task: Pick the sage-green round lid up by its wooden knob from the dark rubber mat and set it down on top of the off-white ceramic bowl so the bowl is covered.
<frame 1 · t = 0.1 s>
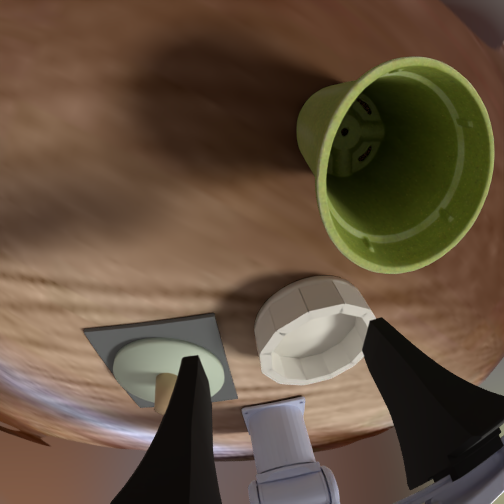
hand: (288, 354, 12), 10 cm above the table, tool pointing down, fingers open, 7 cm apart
plant pot: (338, 131, 17), on the table
bowl: (309, 320, 25), on the table
lid: (168, 372, 26), resting on mat
mat: (168, 370, 27), on the table
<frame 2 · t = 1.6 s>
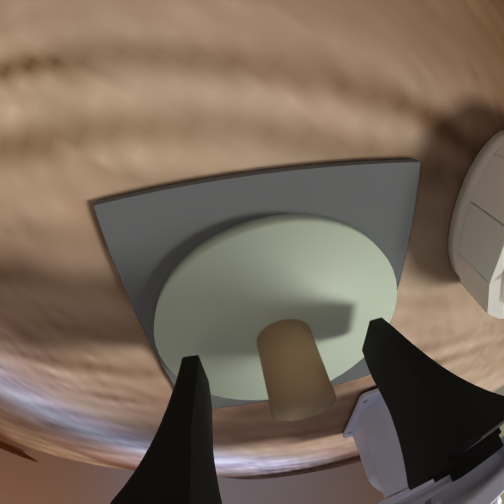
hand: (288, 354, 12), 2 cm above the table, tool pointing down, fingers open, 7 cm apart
bowl: (502, 209, 12), on the table
lid: (280, 325, 13), resting on mat
mat: (278, 319, 13), on the table
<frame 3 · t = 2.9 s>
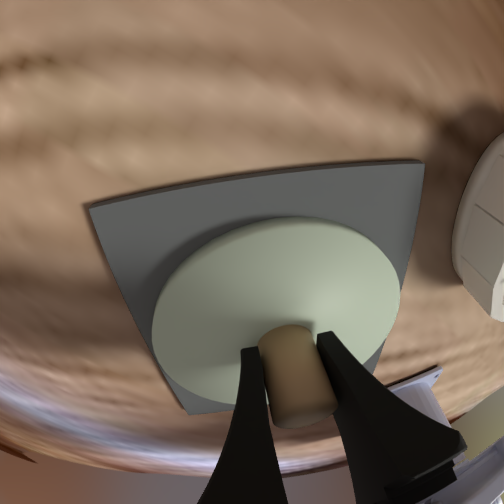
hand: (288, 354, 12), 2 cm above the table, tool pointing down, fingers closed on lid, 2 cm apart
lid: (280, 330, 13), resting on mat, touching gripper
mat: (278, 323, 13), on the table
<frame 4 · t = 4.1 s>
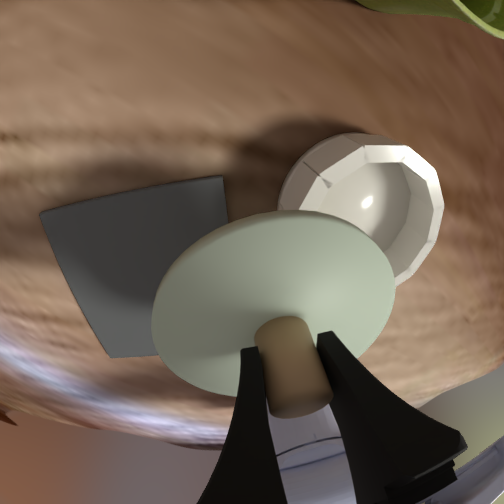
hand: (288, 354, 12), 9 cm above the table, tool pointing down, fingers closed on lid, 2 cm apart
bowl: (350, 207, 18), on the table
lid: (277, 322, 13), point 7 cm above the table, touching gripper
mat: (149, 286, 19), on the table
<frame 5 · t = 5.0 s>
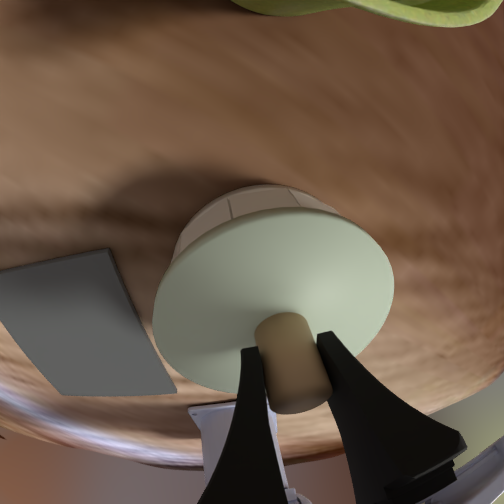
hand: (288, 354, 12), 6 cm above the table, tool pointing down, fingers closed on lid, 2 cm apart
bowl: (262, 269, 17), on the table
lid: (277, 318, 13), point 4 cm above the table, touching gripper
mat: (75, 342, 18), on the table
when the fingers open (6 cm above the table, at t = 5.6 s): lid stays where it is, resting on bowl.
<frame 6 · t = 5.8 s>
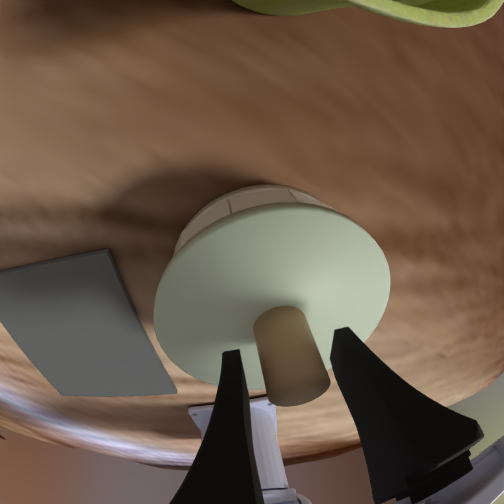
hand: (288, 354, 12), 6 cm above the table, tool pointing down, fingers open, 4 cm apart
bowl: (262, 269, 17), on the table
lid: (276, 313, 13), point 4 cm above the table, touching bowl
mat: (75, 342, 18), on the table
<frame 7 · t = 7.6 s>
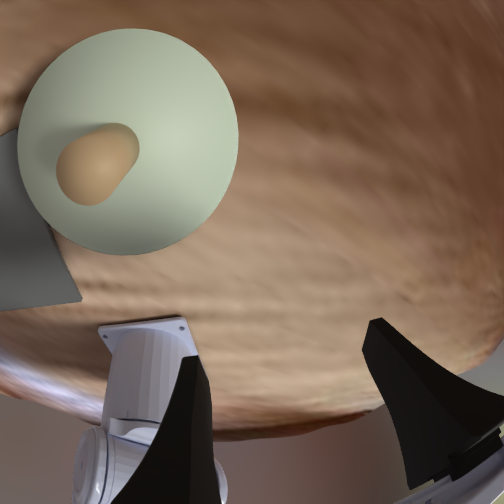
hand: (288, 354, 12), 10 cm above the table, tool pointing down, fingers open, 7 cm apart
lid: (118, 145, 12), point 4 cm above the table, touching bowl
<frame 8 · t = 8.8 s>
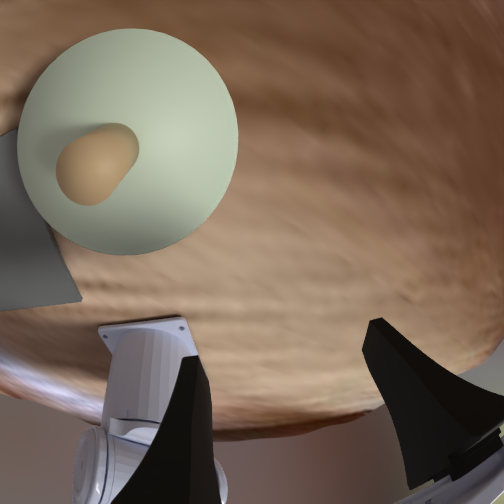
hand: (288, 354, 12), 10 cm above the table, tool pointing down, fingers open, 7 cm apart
lid: (118, 145, 12), point 4 cm above the table, touching bowl
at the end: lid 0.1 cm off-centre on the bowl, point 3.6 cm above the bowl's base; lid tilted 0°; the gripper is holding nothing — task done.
